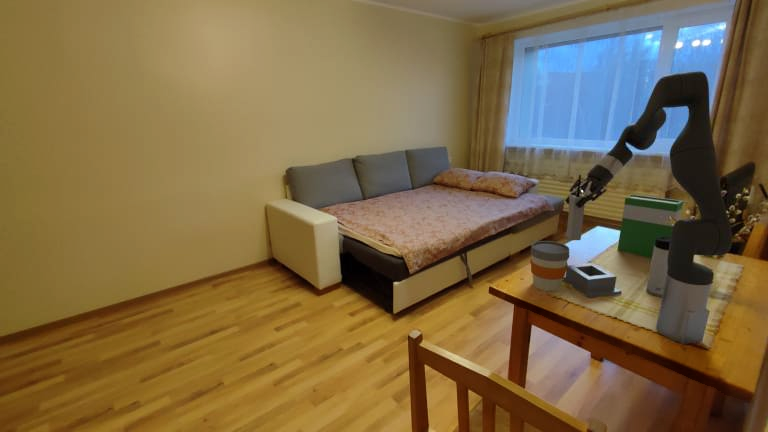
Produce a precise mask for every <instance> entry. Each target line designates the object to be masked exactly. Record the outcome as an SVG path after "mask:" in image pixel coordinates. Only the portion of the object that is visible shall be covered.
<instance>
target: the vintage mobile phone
mask: <svg viewBox="0 0 768 432" xmlns="http://www.w3.org/2000/svg"><path fill="white" fill-rule="evenodd" d="M578 179H579V182H578V188H577V192H576V193H577V195H570V194H569V195H568V196H569V204H568V217H567V224H566V225H567V226H566V230H565V231H566V232H565V237H566V238H567V239H569V240H570V241H581V239H582V234H583V233H582V230H583V221H584V213H585V205H586V203H585V204H584V205H583V206H582V207H581V208H578V207H577V206H576V203H577V202H578V201H579V200H580V199H581V198H582V197H583V195H582V194H580V195H579V193H580V190H581V188H580V181H582V175H581V174H579V176H578Z"/></svg>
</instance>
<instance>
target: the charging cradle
mask: <svg viewBox="0 0 768 432" xmlns="http://www.w3.org/2000/svg"><path fill="white" fill-rule="evenodd" d="M562 281H564V282H565V283H567V284H568V285H570V286H571V287H573V288H574V289H575V290H577V291H578V292H579V293H581V294H582V295H583V296H585V297H586V298H588V299H593V298H602V297H609V296H618V295H619V296H620V295H622V290H621V289H620V288H617V287H616V281H617V275H615V274H613V273H612V272H611V271H608V270H606V269H605V268H604V267H601V266H599V265H598V264H596V263H594V262H588V263H580V264H579V263H578V264H571V265H569V264H568V265H567V269H566V273H565V276H564V277H563V279H562Z"/></svg>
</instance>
